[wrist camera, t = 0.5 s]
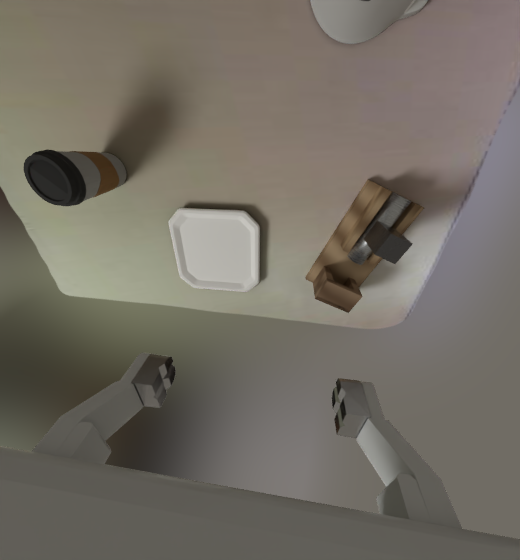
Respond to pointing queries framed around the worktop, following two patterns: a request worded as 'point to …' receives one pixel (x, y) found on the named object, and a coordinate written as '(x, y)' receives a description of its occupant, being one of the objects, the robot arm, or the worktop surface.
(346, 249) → the cradle
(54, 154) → the coffee cup
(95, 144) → the worktop surface
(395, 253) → the grey mallet
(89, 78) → the worktop surface
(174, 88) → the worktop surface
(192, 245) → the plate
